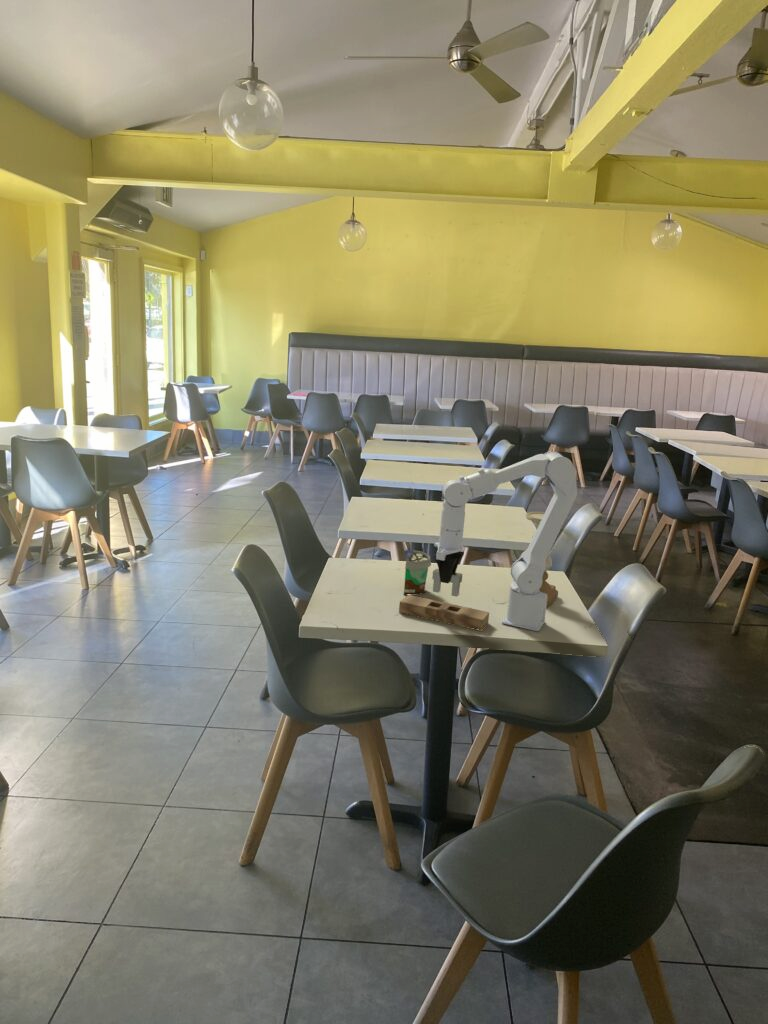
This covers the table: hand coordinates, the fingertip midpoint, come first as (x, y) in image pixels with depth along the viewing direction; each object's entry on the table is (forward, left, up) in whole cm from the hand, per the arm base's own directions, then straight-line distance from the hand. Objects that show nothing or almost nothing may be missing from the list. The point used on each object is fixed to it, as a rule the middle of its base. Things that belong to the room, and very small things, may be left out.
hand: (446, 580), depth 183 cm
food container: (+13, -15, -10) cm, 23 cm away
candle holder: (-17, -29, -10) cm, 35 cm away
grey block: (0, 0, -3) cm, 3 cm away
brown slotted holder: (0, 0, -10) cm, 10 cm away
